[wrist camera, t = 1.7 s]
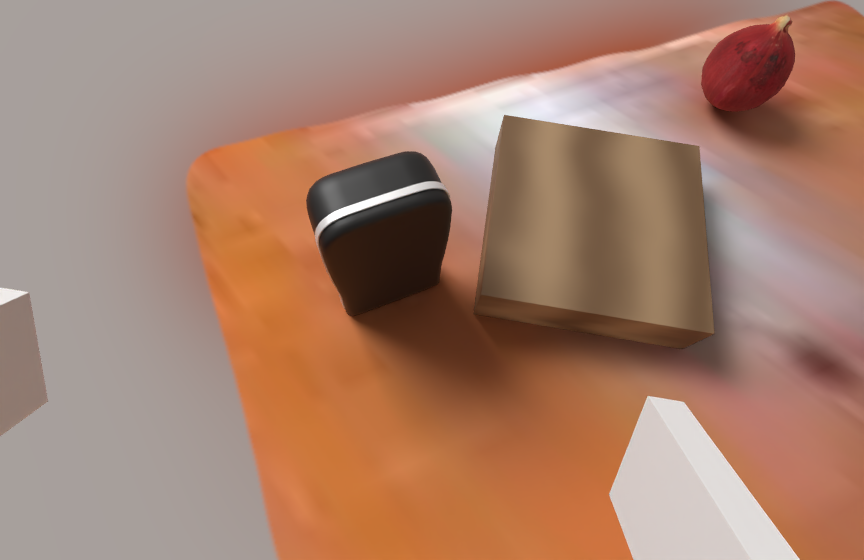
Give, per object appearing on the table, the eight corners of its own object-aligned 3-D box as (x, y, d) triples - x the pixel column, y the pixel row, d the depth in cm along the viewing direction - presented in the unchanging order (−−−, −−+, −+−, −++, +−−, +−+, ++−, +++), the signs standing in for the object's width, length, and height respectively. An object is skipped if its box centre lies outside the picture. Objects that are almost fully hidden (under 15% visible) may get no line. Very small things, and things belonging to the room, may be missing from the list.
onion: (751, 139, 38) (833, 58, 31) (681, 124, 39) (746, 40, 31) (749, 87, 41) (825, 0, 33) (683, 73, 41) (743, -16, 33)
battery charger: (422, 238, 33) (429, 128, 23) (443, 284, 32) (460, 190, 21) (328, 271, 32) (288, 171, 21) (346, 321, 31) (313, 240, 20)
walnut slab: (670, 179, 37) (699, 146, 33) (678, 350, 31) (714, 333, 28) (494, 150, 37) (504, 114, 34) (472, 315, 32) (481, 294, 28)
